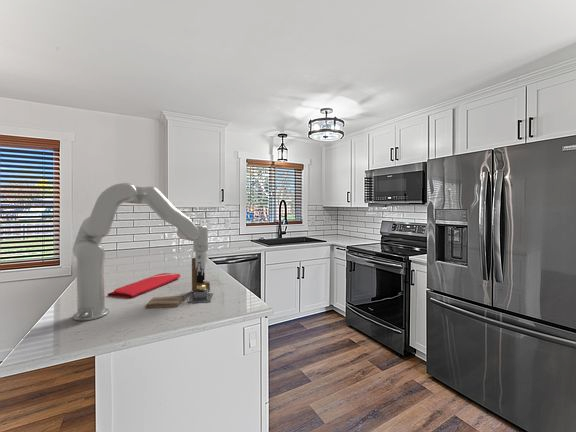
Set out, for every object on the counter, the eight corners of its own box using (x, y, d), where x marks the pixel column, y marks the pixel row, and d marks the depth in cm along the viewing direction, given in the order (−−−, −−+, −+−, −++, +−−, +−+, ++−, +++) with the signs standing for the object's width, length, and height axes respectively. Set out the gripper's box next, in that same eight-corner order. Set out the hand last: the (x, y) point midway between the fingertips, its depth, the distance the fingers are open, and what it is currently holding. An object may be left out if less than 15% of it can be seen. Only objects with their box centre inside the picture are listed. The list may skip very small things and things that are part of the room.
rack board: (178, 306, 134) (178, 303, 134) (146, 307, 132) (146, 304, 132) (183, 298, 145) (183, 295, 145) (153, 300, 143) (153, 297, 143)
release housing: (210, 302, 140) (210, 293, 140) (188, 303, 139) (188, 294, 139) (212, 294, 152) (212, 286, 152) (193, 295, 151) (193, 287, 151)
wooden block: (208, 289, 162) (208, 257, 162) (209, 291, 158) (209, 258, 158) (191, 290, 158) (191, 258, 158) (192, 292, 154) (192, 259, 154)
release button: (205, 290, 144) (205, 286, 144) (196, 291, 143) (196, 286, 143) (206, 288, 148) (206, 284, 148) (197, 288, 147) (197, 284, 147)
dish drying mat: (106, 297, 149) (106, 289, 149) (160, 278, 189) (159, 272, 189) (132, 299, 146) (132, 292, 145) (181, 279, 185) (181, 273, 185)
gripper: (205, 250, 150) (206, 285, 150) (209, 245, 166) (209, 277, 167) (190, 250, 148) (190, 286, 149) (195, 246, 165) (196, 277, 166)
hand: (200, 281), depth 158 cm, fingers closed on wooden block, 4 cm apart
